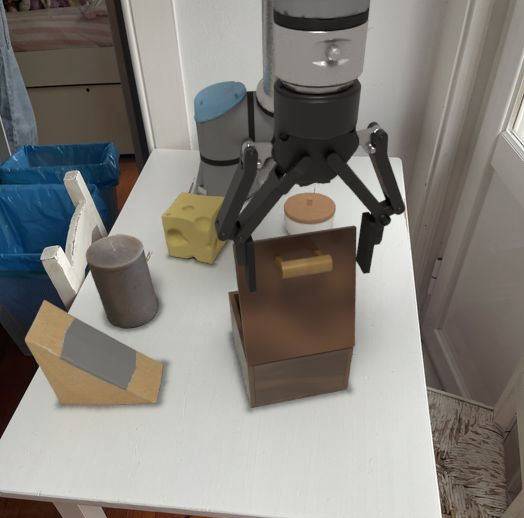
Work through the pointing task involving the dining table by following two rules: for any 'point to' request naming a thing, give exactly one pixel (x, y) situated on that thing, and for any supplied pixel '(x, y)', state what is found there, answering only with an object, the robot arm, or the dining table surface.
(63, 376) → the sandwich container
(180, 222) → the cheese
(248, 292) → the lid
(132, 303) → the pillar candle
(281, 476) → the dining table surface
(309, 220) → the trinket box
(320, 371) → the bread box
